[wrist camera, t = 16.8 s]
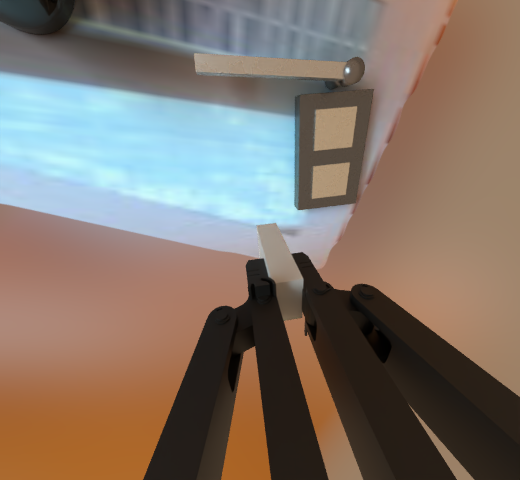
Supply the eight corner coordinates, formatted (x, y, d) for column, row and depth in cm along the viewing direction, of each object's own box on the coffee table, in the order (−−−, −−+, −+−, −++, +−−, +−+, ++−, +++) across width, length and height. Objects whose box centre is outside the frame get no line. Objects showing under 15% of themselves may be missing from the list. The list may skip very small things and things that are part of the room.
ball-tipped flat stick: (357, 62, 33) (367, 57, 31) (353, 86, 34) (361, 83, 32) (195, 52, 30) (192, 46, 28) (198, 80, 31) (196, 76, 29)
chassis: (295, 76, 37) (304, 68, 33) (367, 70, 38) (386, 62, 34) (294, 205, 50) (301, 213, 45) (349, 199, 51) (361, 206, 46)
